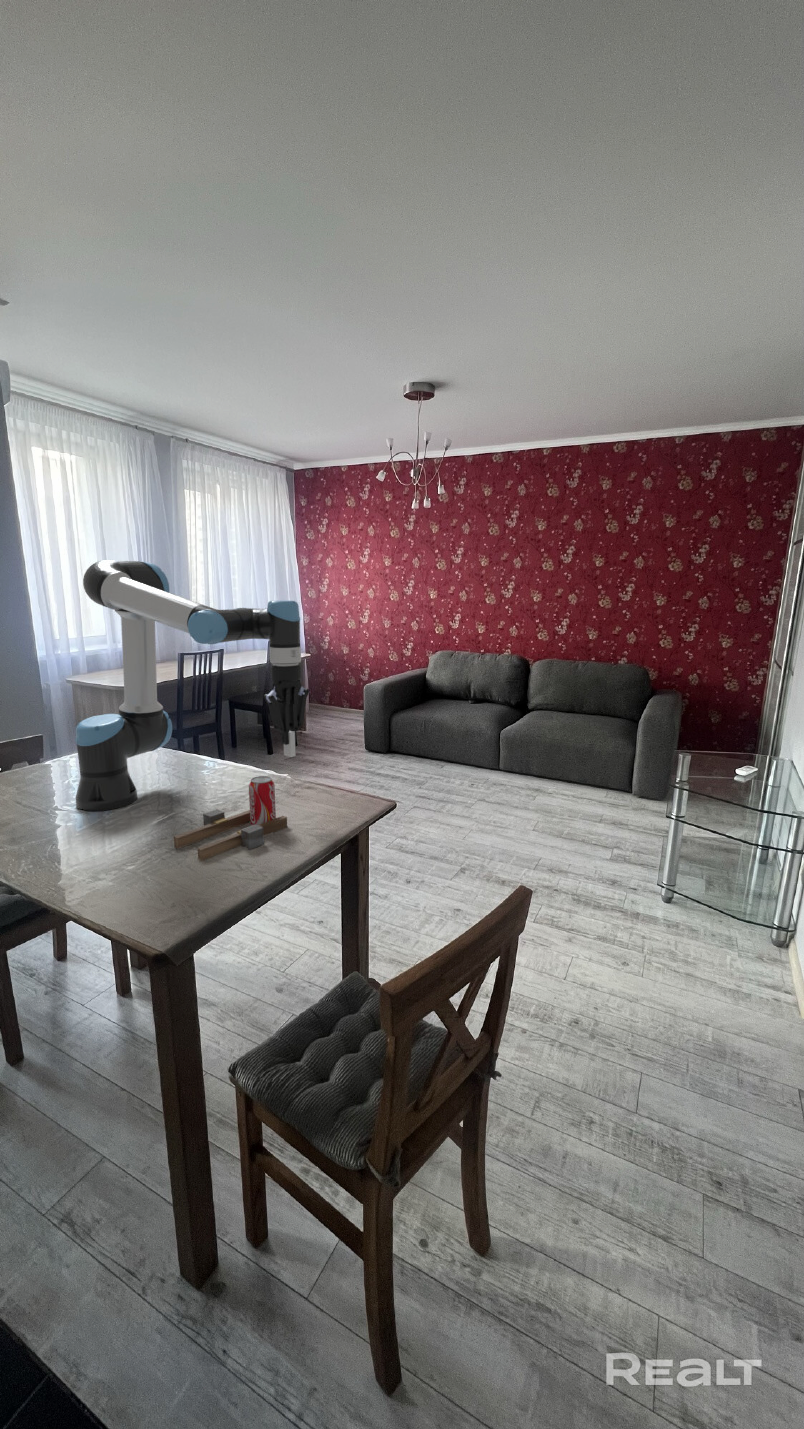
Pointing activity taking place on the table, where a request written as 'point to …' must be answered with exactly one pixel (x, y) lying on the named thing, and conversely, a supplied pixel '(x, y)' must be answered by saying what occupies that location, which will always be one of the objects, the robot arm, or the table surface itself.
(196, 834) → the wooden bars with blocks
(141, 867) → the table surface
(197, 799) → the table surface
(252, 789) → the beverage can
